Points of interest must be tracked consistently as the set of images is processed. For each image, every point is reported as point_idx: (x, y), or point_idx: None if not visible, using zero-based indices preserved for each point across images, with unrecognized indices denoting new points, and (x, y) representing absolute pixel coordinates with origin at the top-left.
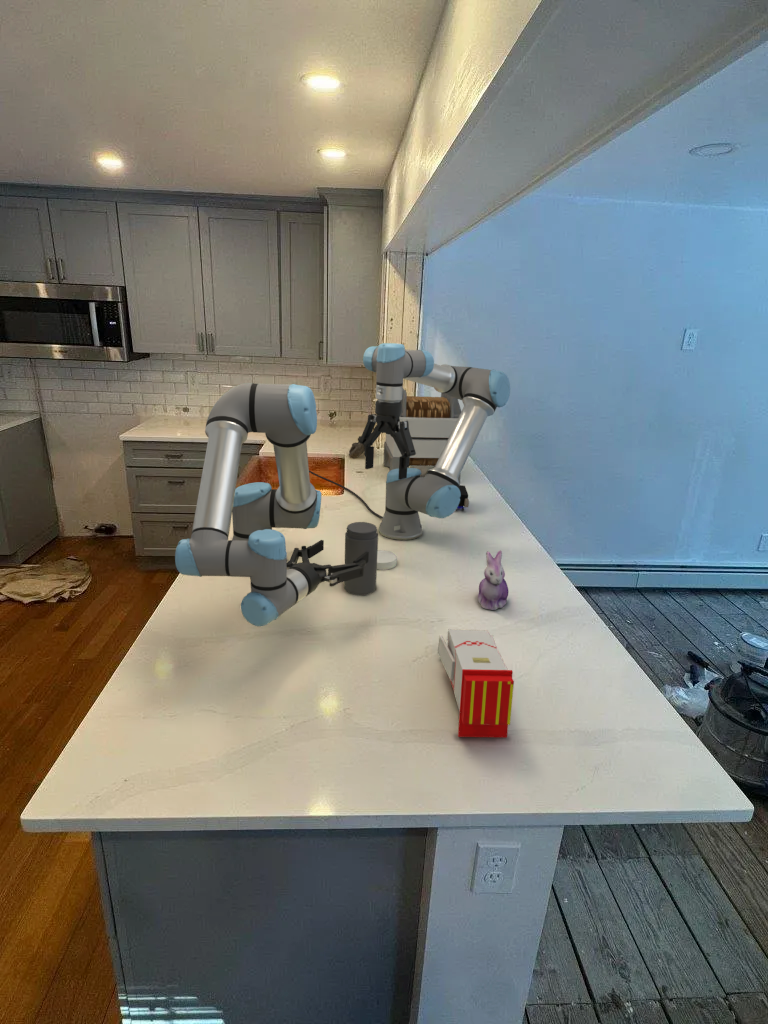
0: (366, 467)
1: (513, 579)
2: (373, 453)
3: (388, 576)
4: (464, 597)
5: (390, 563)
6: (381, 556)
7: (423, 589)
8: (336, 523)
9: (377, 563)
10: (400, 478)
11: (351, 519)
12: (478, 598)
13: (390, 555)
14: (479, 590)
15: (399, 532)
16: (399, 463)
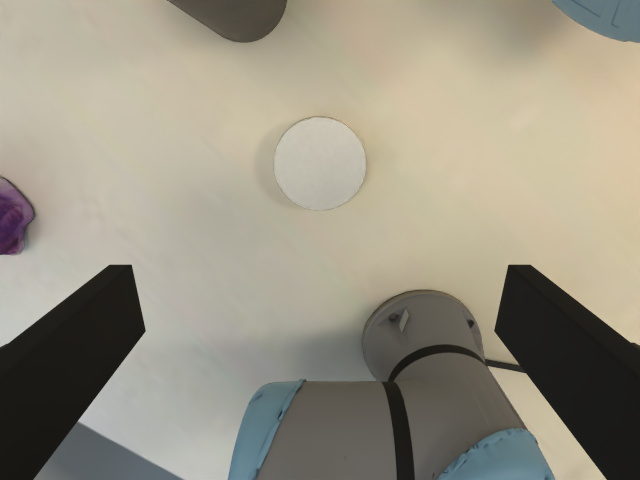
0: (521, 271)
1: None
2: (576, 433)
3: (245, 114)
4: (46, 175)
5: (274, 156)
6: (317, 164)
7: (132, 129)
8: (598, 260)
9: (296, 124)
10: (104, 269)
11: None
12: (5, 185)
13: (305, 189)
14: (2, 200)
15: (397, 318)
16: (27, 353)
